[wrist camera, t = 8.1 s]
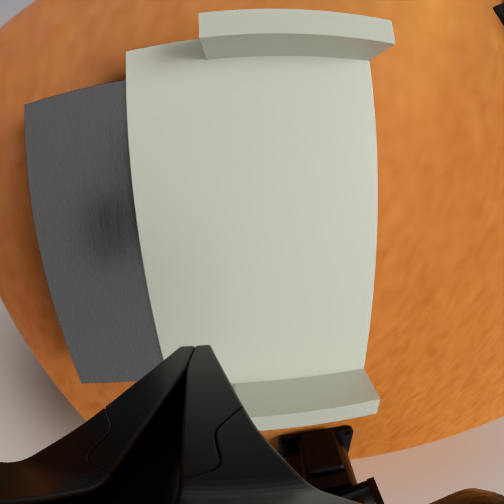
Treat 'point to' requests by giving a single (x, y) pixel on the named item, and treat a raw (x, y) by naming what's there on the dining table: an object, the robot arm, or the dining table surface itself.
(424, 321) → the dining table surface
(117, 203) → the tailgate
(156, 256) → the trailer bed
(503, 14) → the black blocky piece
